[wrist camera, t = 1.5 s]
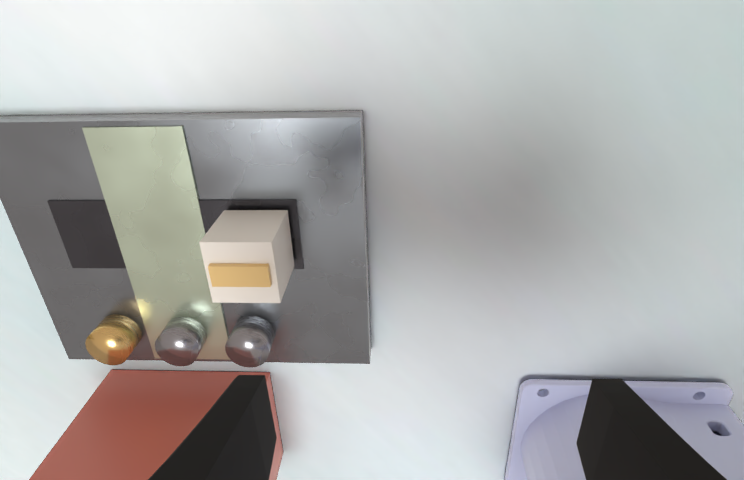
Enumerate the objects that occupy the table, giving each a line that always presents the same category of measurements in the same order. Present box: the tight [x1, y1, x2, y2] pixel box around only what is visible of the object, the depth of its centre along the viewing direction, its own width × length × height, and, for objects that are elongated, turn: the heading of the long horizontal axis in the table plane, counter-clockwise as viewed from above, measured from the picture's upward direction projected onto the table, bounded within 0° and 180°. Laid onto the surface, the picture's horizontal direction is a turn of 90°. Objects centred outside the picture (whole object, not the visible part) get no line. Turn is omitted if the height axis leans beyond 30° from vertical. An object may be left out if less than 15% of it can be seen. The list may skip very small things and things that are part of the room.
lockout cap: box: [29, 370, 283, 480], centre depth 22 cm, size 8×6×6 cm
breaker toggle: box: [199, 210, 294, 303], centre depth 17 cm, size 2×2×3 cm
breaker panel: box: [0, 111, 371, 367], centre depth 19 cm, size 14×11×2 cm
